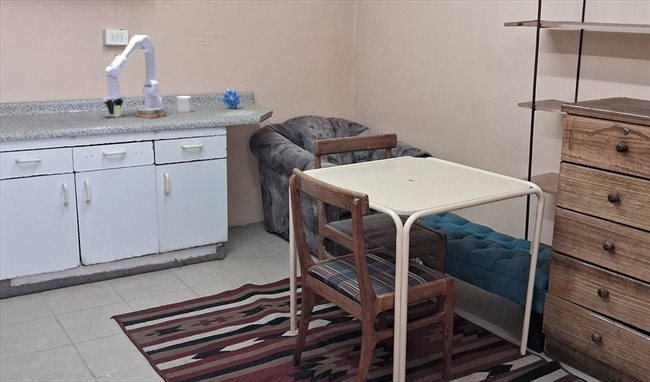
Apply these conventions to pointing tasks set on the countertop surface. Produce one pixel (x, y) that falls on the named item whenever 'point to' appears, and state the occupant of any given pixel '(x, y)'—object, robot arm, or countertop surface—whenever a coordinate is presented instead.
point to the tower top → (150, 111)
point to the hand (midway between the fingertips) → (114, 113)
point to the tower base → (150, 116)
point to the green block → (116, 111)
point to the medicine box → (184, 104)
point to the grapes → (231, 98)
